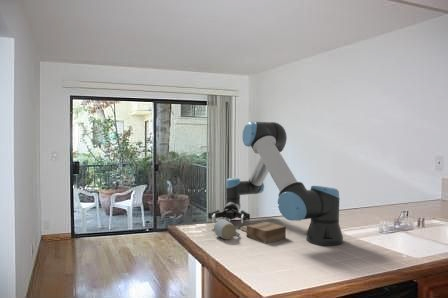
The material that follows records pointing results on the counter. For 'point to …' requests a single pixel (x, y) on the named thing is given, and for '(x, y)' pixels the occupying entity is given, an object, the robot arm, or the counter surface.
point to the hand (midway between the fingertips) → (227, 219)
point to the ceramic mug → (225, 229)
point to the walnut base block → (266, 232)
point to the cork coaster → (243, 228)
